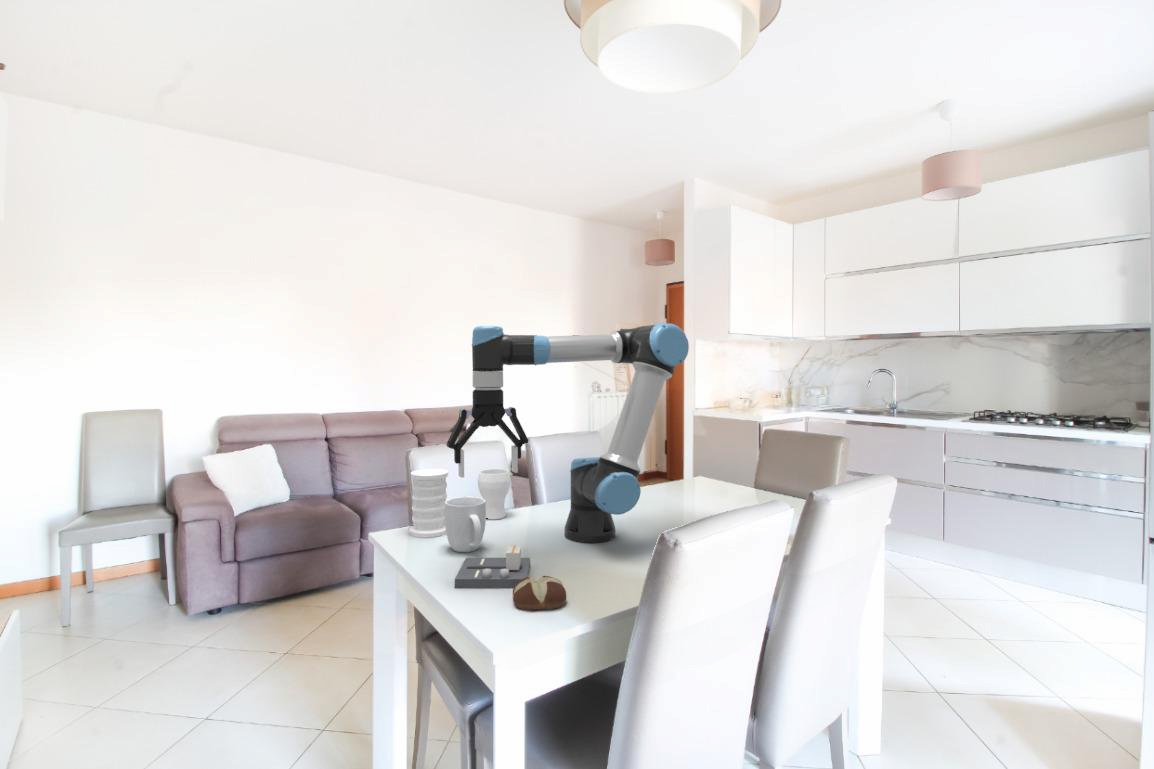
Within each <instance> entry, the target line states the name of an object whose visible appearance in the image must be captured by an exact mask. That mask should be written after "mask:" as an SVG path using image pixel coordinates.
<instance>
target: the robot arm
mask: <svg viewBox="0 0 1154 769" xmlns="http://www.w3.org/2000/svg"><path fill="white" fill-rule="evenodd" d="M471 337H472V342H471V353H472V354H471V355H472V358H471V359H472V387H473V390H472V408H471V409H464V408H461V409H460V410H459V412H458V413H459V415H458V419H457V420H456V424H455V425H454V428H453V430H452V432H451V433H450V436H449V438H448V441H447V442H446V447H447V448H449V449H452V450H453V451H454V452H453V455H454V456H453V457H454V459H453V460H454V463H455V464H458V477H460V478H462V479H463V478H465V450H464V449H462V448H463V447H464V445H466V444H467V442H468V441H469V439H471V437H472V436H473V434H474V433H475V432H476V431H477V429H479V427H482V428H487V427H496V426H498V427H499V428H500V429H501V430H502V431H503V433H504V434H505V435H506V436H507V437H508V438H509V439H510V441H511V442H512V443H513V444H514V445H511V448H510V450H511V457H510V458H511V460H510V461H511V472H512V473H514V474H517V473H519V471H518V470H519V469H518V468H519V467H518V465H519V461H518V460H519V459H522V447H523V446H524V445H525V444H528V443H529V438H528V437H527V435H526V432H525V431H524V429H523V427H522V426H523V425H522V424H521V422H520V421H519V418H518V416H517V410H516V408H515V407H511V406H509V407H507V408H505V407H504V390H503V389H502V388H503V387H504V365H506V366H516V365H517V366H518V365H519V366H520V365H521V366H527V365H528V366H538V365H539V366H541V365H546V364H550V363H551V364H552V363H574V362H598V361H600V362H601V361H611V362H612V363H614V364H630V365H632V367H633V368H634V371H635V372H634V374H633V377H632V381H631V383H630V386H629V389H628V391H627V394H626V398H625V400H624V403H623V407H622V410H621V412H620V415H619V418H618V421H617V424H616V426H615V429H614V432H613V435H612V438H611V441H610V444H609V447H608V450H607V451H606V452H605V453H604V454H601V455H600V456H598V457H597V456H596V457H579V458H574V459H573V460H572V461H571V462H570V463H571V465H570V470H569V472H570V509H569V513H568V516H567V519H566V521H565V522H566V523H565V524H564V525H565V526H564V532H563V533H564V537H565V538H566V539H568V540H571V541H575V542H577V543H578V542H579V543H585V544H587V543H589V544H590V543H591V544H592V543H593V544H594V543H605V542H608V541H612V540H613V539H614V538H616V533H617V532H616V530H617V529H616V525H615V522H614V518H613V516H612V515H615V516H617V515H618V516H619V515H624V514H626V513H628V512H630V511H631V510H632V509H633V508H634V507H636V505H637V504H638V501H639V500H640V496H641V492H642V491H641V490H642V489H641V486H640V483H639V482H640V481H639V480H638V479H639V477H640V476H639V475H640V474H641V469H640V467H639V465H638V462H639V458H640V455H641V452H642V449H643V446H644V443H645V440H646V438H647V435H648V432H649V428H650V426H651V422H652V419H653V416H654V414H655V411H656V409H657V405H658V402H659V399H660V396H661V393H662V390H663V387H664V384H665V381H668V380H670V379H671V378H672V377H673V374H674V372H675V369H676V367H677V366H679V365H681V364H682V363H683V362H684V361H685V360H686V358H687V357H688V354H689V349H690V345H689V340H688V337H687V335H686V333H685V331H684V330H683V329H682V328H681V327H679V326H678V325H676V324H674V323H665V322H659V323H658V324H653V325H652V324H651V325H642V326H637V327H634V328H629V329H624V330H623V329H622V330H612V331H611V332H610V333H609V334H588V335H587V334H586V335H585V334H581V335H580V334H579V335H555V336H554V335H553V336H552V335H551V336H546V335H537V334H534V335H533V334H518V335H516V334H510V335H509V334H505V333H504V329H503V327H502V326H499V325H497V326H495V325H480V326H479V325H478V326H476V327H474V328H473V329H472V336H471ZM505 414H506V416H507V417H509V419H510V421H511V424H512V426H513V427H514V430H515V432H516V433H517V434H515V433H514V432H513V431H512V430H511V429H510V428H509V427H508V425H507V424H506V422H505V421H504V420H503V417H504V416H505ZM470 416H471V417H472V418H473V421H471V423H470V424H469V426H468V428H467V429H466V430H465V431H464V432H463V434H462V435H461V436H460V433H462V432H461V431H462V430H463V428H464V425H465V424H466V421H467V419H469V417H470ZM516 435H518V437H519V438H518V437H517V436H516ZM459 436H460V437H459ZM458 438H459V439H458Z"/></svg>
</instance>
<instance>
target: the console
mask: <svg viewBox="0 0 1154 769" xmlns="http://www.w3.org/2000/svg"><path fill="white" fill-rule="evenodd" d="M529 569H530V570H531V557H521V564H520V568H519V570H509V569H506V557H465V559H464V560H463V563H462V564H461V566H460V569H459V570H458V572H457V574H456V576H455V578H454V588H455V589H513V588H514V586H515V585H516V583H517V582H519V581H520V580H521V579H523V578H526V577H529V574H530V570H529Z"/></svg>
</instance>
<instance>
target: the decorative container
mask: <svg viewBox="0 0 1154 769" xmlns="http://www.w3.org/2000/svg"><path fill="white" fill-rule="evenodd" d="M448 476H449V470H447V469H443V468H423V469H417V470H413V471H411V472H410V478H411V479H412V485H411V488H412V495H411V500H412V506H411V509H412V517H411V520H412V521H411V522H413V523H412V524H413V525H412V526H410V528H409V535H410V536H412V537H415V538H420V539H421V538H423V539H425V538H426V539H428V538H429V539H430V538H437V537H441V536H445V535H447V534H446V529H445V501H446V500H447V497H448V494H447V487H448V483H447V478H448Z"/></svg>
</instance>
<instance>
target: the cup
mask: <svg viewBox="0 0 1154 769" xmlns="http://www.w3.org/2000/svg"><path fill="white" fill-rule="evenodd" d="M510 486H511V475H510V472H509V470H508V469H504V468H487V469H482V470H480V471H479V472H478V477H477V487H478V491H479V493H480V495H481V498H483V499H485V501H486V518H488V519H487V520H500V519H504V518H506V516H507V514H506V508H505V502H506V497H507V495H508V493H509V490H510Z"/></svg>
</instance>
